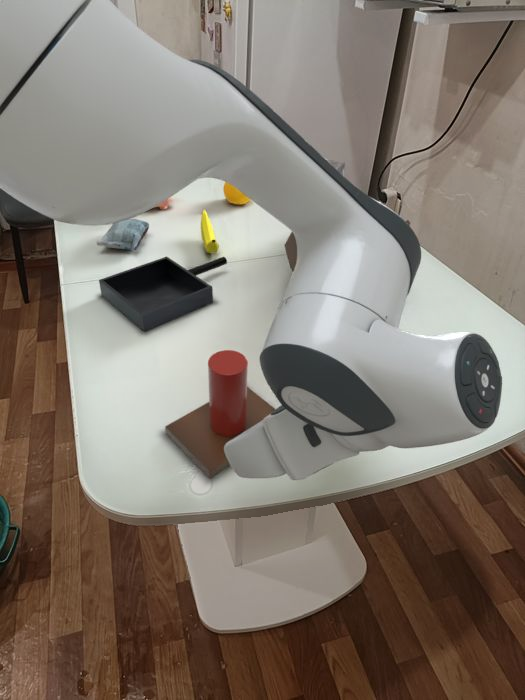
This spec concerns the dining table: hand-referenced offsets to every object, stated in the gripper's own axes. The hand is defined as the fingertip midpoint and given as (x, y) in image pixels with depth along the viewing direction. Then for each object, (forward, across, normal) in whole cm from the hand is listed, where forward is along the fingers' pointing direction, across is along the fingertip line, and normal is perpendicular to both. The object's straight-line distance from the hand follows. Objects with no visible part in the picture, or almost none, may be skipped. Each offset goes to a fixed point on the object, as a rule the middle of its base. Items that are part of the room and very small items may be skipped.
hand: (273, 421), depth 62 cm
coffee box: (+38, -58, -25) cm, 74 cm away
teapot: (+65, -35, -52) cm, 90 cm away
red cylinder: (+11, 0, -1) cm, 11 cm away
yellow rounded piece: (+56, -54, -44) cm, 89 cm away
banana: (+45, -32, -32) cm, 64 cm away
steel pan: (+37, -15, -25) cm, 47 cm away
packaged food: (+54, -18, -42) cm, 71 cm away
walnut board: (+12, 0, 0) cm, 12 cm away
